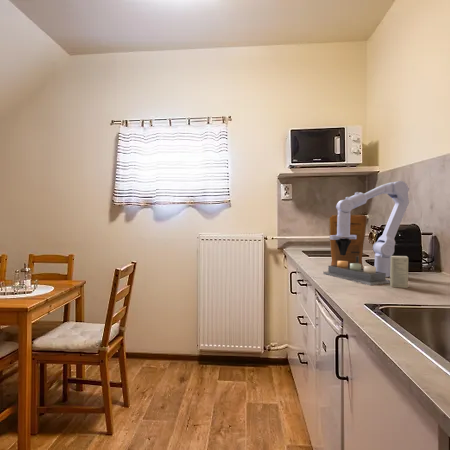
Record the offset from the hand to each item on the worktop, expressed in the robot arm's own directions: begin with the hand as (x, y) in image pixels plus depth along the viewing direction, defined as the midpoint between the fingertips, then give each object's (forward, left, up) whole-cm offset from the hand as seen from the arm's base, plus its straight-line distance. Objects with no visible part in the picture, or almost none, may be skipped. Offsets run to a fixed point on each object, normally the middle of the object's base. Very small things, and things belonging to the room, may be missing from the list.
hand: (342, 255), depth 170 cm
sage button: (0, +8, -6) cm, 10 cm away
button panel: (0, +8, -9) cm, 12 cm away
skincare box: (-3, +28, -10) cm, 30 cm away
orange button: (0, 0, -6) cm, 6 cm away
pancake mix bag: (-21, -19, -10) cm, 30 cm away
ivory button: (0, +16, -6) cm, 17 cm away
